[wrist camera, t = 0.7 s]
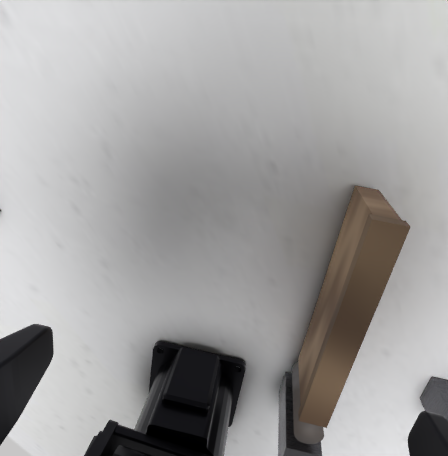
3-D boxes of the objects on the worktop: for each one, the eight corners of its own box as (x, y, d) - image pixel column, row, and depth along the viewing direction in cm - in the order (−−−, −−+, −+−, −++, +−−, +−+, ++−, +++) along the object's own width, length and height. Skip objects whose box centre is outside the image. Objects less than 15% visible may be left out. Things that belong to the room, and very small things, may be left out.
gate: (313, 381, 24) (319, 446, 20) (289, 376, 24) (290, 439, 20) (382, 190, 18) (411, 227, 14) (351, 184, 18) (370, 218, 14)
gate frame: (459, 405, 24) (505, 494, 19) (279, 397, 26) (278, 475, 21) (465, 377, 23) (515, 463, 18) (277, 371, 25) (276, 447, 20)
